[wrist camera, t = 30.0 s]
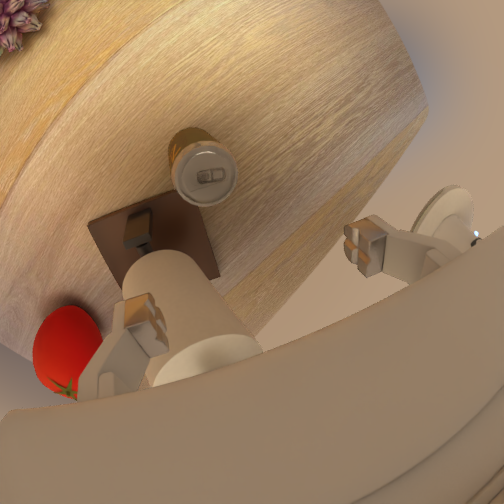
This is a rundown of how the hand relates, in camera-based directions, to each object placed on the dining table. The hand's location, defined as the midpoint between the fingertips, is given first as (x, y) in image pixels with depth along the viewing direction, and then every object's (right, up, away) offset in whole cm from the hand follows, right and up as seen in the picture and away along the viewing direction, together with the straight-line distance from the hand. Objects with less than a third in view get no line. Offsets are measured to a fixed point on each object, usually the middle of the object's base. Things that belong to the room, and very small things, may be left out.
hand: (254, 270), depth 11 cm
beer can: (-7, +13, +19) cm, 24 cm away
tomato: (-28, -10, +26) cm, 40 cm away
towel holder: (-2, -4, +14) cm, 14 cm away
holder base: (-13, +1, +25) cm, 28 cm away
